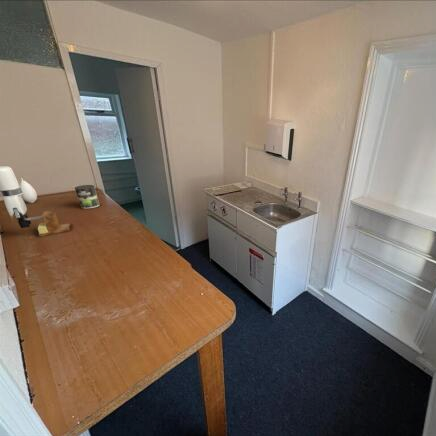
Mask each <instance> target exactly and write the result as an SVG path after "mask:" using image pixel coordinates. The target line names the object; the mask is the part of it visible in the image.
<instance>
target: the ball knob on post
mask: <svg viewBox="0 0 436 436" xmlns="http://www.w3.org/2000/svg"><path fill="white" fill-rule="evenodd" d="M51 213H52V212H51ZM45 214H47V213H45ZM40 219H43V216H42V215H38V216H32V217H29V218H26V220H27V221H29V220H30V221H35V220H40Z"/></svg>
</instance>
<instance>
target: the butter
mask: <svg viewBox="0 0 436 436" xmlns="http://www.w3.org/2000/svg"><path fill="white" fill-rule="evenodd" d="M37 231H38V234H39V233H40V234H42V233H47V232H48V228H47V226H46V225H44V226H39V225H38V226H37Z"/></svg>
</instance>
